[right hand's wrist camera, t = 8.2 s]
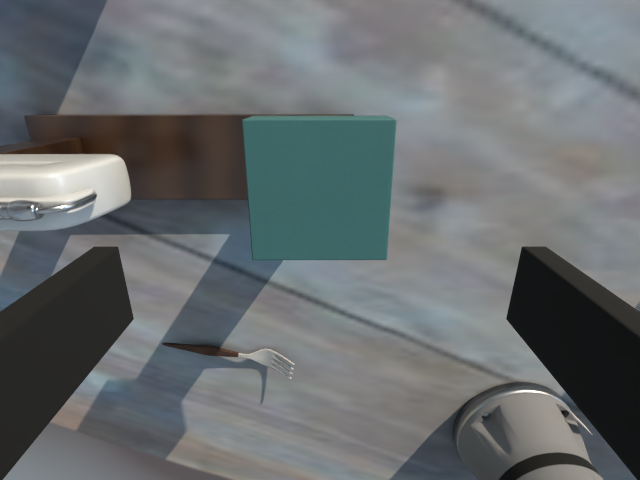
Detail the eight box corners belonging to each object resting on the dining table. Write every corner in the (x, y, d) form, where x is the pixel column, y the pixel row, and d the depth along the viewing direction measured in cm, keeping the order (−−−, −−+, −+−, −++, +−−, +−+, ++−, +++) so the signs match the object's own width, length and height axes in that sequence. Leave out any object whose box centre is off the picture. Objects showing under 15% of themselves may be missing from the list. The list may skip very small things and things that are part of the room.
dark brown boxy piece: (353, 114, 36) (369, 124, 24) (350, 195, 39) (364, 240, 27) (35, 114, 36) (-105, 125, 24) (56, 195, 39) (-59, 241, 27)
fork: (164, 331, 45) (157, 342, 43) (295, 352, 46) (294, 363, 44) (163, 349, 46) (157, 360, 44) (292, 369, 47) (291, 380, 45)
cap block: (386, 115, 25) (396, 119, 22) (379, 240, 28) (386, 260, 25) (251, 115, 25) (241, 119, 22) (260, 241, 28) (252, 260, 25)
